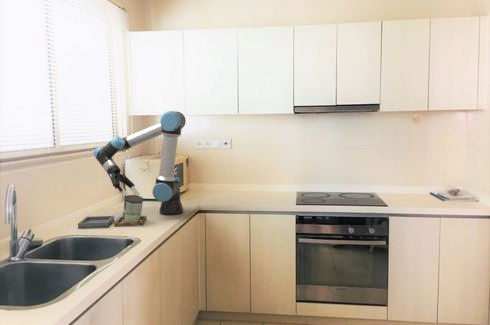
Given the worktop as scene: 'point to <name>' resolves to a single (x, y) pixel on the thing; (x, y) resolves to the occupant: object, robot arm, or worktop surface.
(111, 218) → the gray tray
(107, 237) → the worktop surface
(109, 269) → the worktop surface
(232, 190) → the worktop surface
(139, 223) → the walnut holder
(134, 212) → the coffee can
